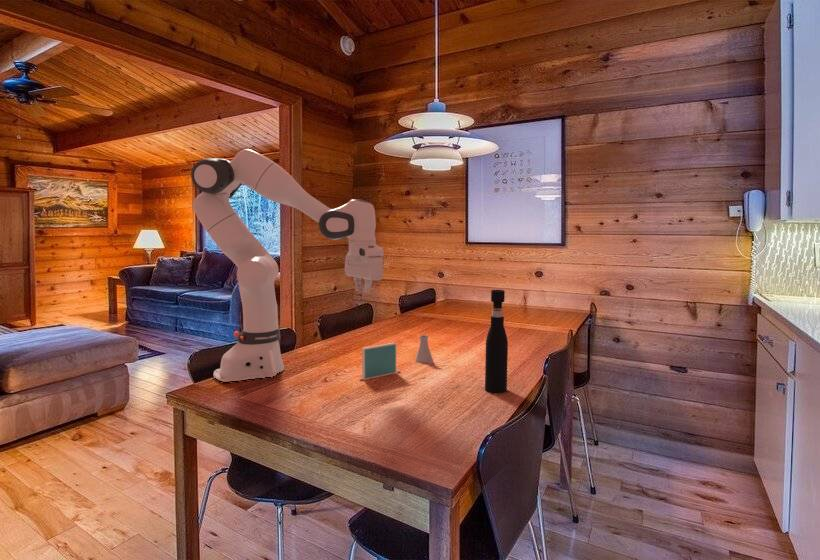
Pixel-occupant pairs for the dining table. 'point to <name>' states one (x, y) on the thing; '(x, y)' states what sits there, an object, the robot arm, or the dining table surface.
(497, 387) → the wine bottle
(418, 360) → the flask
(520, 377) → the dining table surface
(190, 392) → the dining table surface
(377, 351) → the tile
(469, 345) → the dining table surface
